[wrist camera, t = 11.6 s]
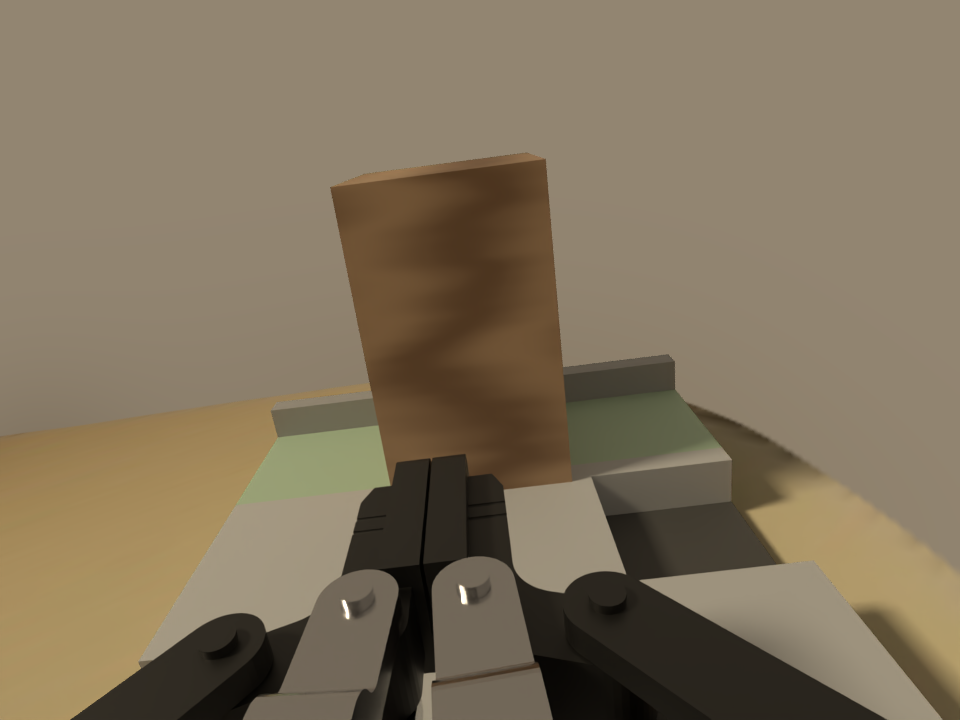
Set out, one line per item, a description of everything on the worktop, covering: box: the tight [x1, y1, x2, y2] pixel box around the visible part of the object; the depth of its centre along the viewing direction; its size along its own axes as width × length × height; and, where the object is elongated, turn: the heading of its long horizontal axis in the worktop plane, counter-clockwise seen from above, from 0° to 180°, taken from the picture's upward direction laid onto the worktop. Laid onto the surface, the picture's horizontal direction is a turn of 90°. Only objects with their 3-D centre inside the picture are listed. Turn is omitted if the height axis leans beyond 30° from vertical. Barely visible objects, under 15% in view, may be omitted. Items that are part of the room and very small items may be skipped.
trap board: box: [138, 355, 943, 720], centre depth 17 cm, size 20×31×4 cm, turn 1°
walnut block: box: [330, 153, 572, 490], centre depth 25 cm, size 7×7×12 cm
